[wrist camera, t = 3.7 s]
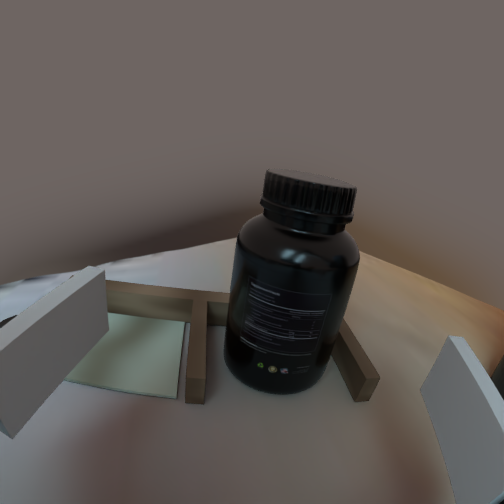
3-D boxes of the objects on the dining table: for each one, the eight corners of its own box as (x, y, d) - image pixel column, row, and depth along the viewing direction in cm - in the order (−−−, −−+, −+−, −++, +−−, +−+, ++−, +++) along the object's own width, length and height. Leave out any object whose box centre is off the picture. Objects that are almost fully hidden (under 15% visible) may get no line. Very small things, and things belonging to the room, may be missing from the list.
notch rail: (325, 320, 26) (331, 300, 25) (368, 400, 17) (380, 377, 16) (74, 297, 23) (72, 275, 22) (23, 372, 14) (15, 346, 13)
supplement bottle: (234, 324, 24) (259, 162, 19) (322, 343, 23) (365, 183, 19) (207, 384, 17) (233, 168, 13) (322, 408, 16) (392, 200, 12)
